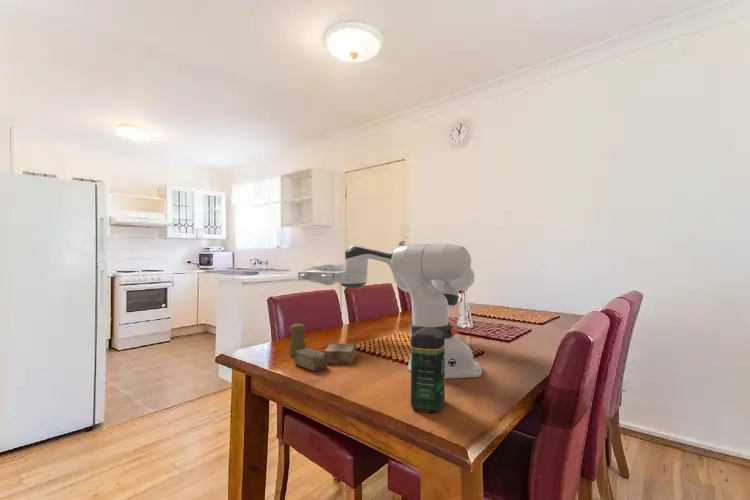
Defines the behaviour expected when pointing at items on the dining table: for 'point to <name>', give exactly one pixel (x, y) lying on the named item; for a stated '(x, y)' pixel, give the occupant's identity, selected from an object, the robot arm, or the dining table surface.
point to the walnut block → (340, 353)
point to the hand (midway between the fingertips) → (312, 277)
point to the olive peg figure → (297, 338)
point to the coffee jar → (427, 369)
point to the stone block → (310, 359)
